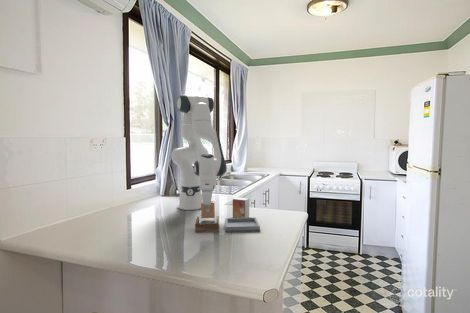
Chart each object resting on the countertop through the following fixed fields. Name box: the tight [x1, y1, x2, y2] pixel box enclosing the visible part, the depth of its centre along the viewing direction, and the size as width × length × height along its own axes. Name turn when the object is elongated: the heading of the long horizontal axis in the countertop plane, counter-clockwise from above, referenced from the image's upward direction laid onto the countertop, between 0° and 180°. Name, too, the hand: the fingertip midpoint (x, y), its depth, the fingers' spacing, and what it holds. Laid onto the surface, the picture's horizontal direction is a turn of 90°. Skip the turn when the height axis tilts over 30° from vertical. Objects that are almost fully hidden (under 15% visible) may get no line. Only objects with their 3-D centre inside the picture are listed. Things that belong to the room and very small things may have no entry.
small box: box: [232, 196, 250, 218], centre depth 162 cm, size 8×6×10 cm
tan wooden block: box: [200, 200, 216, 219], centre depth 155 cm, size 5×7×8 cm
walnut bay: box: [194, 215, 220, 234], centre depth 143 cm, size 14×11×4 cm
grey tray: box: [224, 216, 261, 233], centre depth 144 cm, size 15×16×2 cm
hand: (208, 210), depth 155 cm, fingers closed on tan wooden block, 5 cm apart
